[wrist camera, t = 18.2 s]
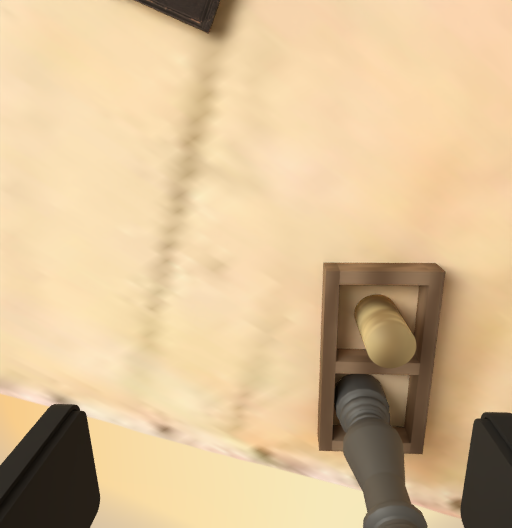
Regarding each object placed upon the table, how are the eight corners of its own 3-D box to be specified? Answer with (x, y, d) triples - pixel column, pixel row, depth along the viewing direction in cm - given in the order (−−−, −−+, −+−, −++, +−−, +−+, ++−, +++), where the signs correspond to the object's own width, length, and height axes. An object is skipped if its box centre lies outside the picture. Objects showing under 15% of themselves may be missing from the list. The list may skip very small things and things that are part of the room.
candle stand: (435, 263, 48) (464, 289, 40) (415, 437, 55) (436, 486, 47) (323, 262, 49) (330, 287, 41) (317, 433, 56) (322, 482, 48)
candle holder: (338, 368, 53) (383, 568, 29) (388, 377, 52) (474, 584, 29) (328, 411, 54) (362, 630, 31) (376, 419, 54) (448, 645, 31)
